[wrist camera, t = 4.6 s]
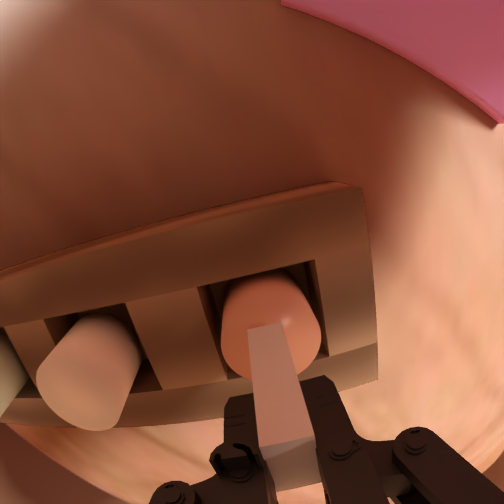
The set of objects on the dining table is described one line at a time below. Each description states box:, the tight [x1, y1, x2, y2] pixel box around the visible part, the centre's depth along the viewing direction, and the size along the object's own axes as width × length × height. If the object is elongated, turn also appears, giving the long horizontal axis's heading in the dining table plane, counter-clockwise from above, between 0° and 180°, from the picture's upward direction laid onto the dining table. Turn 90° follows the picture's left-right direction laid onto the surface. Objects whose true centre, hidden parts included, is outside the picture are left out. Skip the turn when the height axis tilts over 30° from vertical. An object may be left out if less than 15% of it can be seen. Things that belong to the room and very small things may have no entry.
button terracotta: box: [221, 267, 321, 380], centre depth 17 cm, size 5×5×5 cm
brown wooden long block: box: [0, 181, 378, 428], centre depth 19 cm, size 12×32×5 cm, turn 103°
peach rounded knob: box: [36, 313, 142, 431], centre depth 15 cm, size 5×5×5 cm
